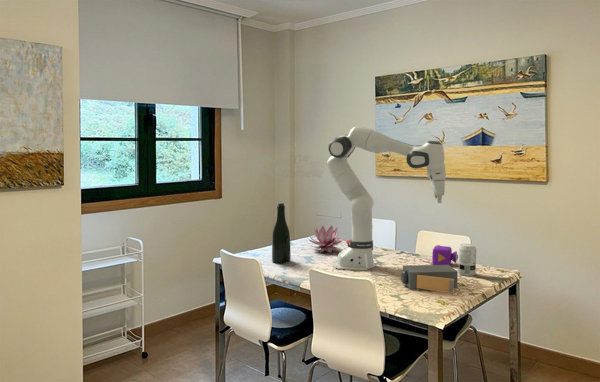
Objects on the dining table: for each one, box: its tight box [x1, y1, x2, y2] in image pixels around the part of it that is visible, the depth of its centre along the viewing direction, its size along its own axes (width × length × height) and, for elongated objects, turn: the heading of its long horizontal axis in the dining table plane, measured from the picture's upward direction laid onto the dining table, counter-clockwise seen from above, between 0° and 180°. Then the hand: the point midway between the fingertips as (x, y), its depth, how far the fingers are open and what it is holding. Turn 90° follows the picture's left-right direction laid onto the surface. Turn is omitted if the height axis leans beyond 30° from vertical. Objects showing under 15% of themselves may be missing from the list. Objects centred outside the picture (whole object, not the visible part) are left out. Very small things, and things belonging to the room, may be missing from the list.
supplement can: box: [457, 243, 477, 277], centre depth 246 cm, size 8×8×15 cm
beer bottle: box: [271, 202, 292, 264], centre depth 272 cm, size 10×10×33 cm
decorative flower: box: [309, 225, 344, 253], centre depth 297 cm, size 21×21×15 cm
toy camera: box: [431, 244, 459, 266], centre depth 266 cm, size 11×14×10 cm
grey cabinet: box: [400, 264, 459, 291], centre depth 228 cm, size 24×12×8 cm, turn 94°
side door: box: [417, 275, 455, 294], centre depth 217 cm, size 16×2×6 cm, turn 64°
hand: (438, 200), depth 245 cm, fingers open, 8 cm apart
